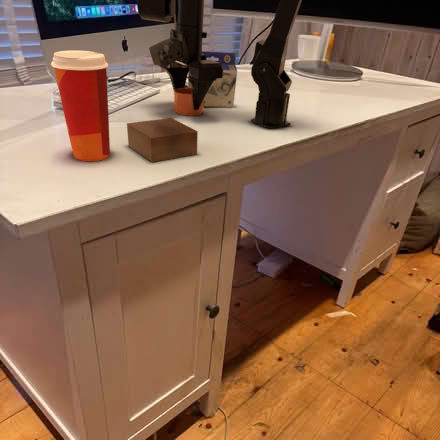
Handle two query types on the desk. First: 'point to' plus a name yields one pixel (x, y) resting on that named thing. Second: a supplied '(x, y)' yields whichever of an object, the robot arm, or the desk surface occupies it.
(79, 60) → the coffee cup
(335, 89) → the desk surface
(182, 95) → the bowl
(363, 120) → the desk surface
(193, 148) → the stand
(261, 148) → the desk surface
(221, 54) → the ink box
